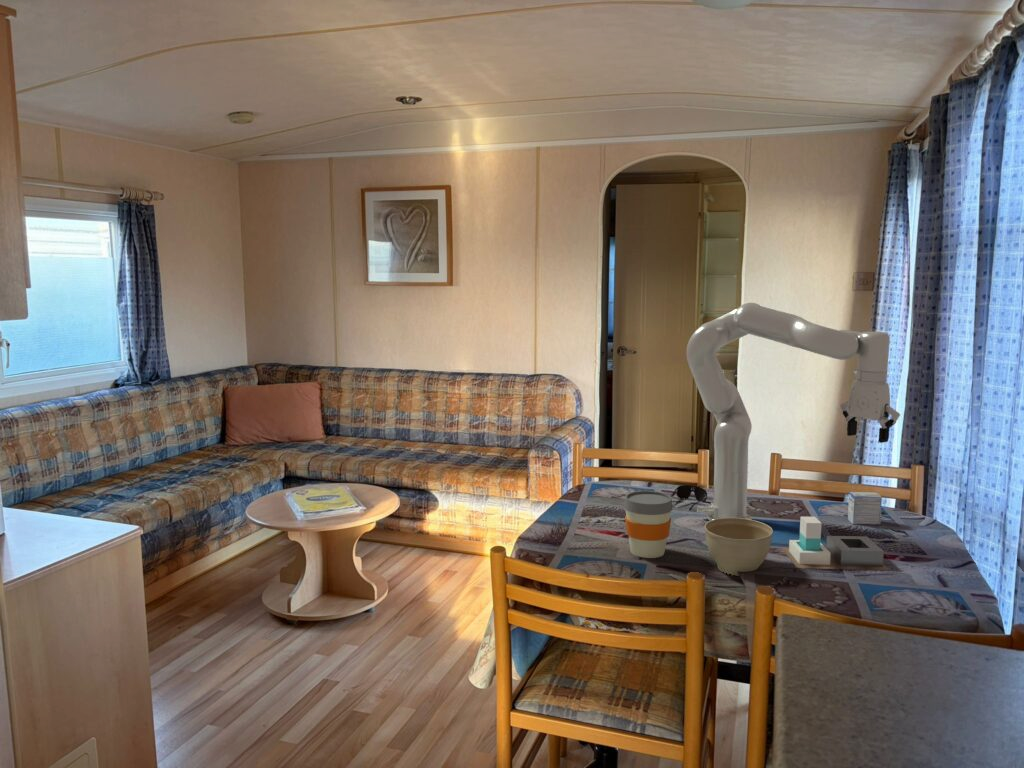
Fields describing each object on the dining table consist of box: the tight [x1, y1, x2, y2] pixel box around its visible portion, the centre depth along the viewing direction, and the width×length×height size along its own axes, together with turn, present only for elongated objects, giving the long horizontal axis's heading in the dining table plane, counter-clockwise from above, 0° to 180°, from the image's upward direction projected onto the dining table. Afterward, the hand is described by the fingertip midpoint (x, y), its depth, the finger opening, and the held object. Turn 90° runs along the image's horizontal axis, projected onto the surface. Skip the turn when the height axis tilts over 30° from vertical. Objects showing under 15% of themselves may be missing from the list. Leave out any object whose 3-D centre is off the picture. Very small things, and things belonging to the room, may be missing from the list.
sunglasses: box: [669, 484, 708, 511], centre depth 238 cm, size 11×12×5 cm
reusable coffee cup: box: [623, 490, 673, 559], centre depth 196 cm, size 13×13×15 cm
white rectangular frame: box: [788, 539, 831, 565], centre depth 188 cm, size 7×9×3 cm
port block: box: [825, 535, 885, 567], centre depth 187 cm, size 10×10×4 cm
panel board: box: [781, 546, 891, 571], centre depth 188 cm, size 22×14×2 cm, turn 85°
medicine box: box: [847, 491, 883, 525], centre depth 218 cm, size 8×4×9 cm, turn 84°
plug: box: [798, 516, 823, 551], centre depth 187 cm, size 4×5×10 cm
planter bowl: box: [704, 518, 774, 577], centre depth 184 cm, size 16×16×11 cm
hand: (867, 438), depth 204 cm, fingers open, 9 cm apart
